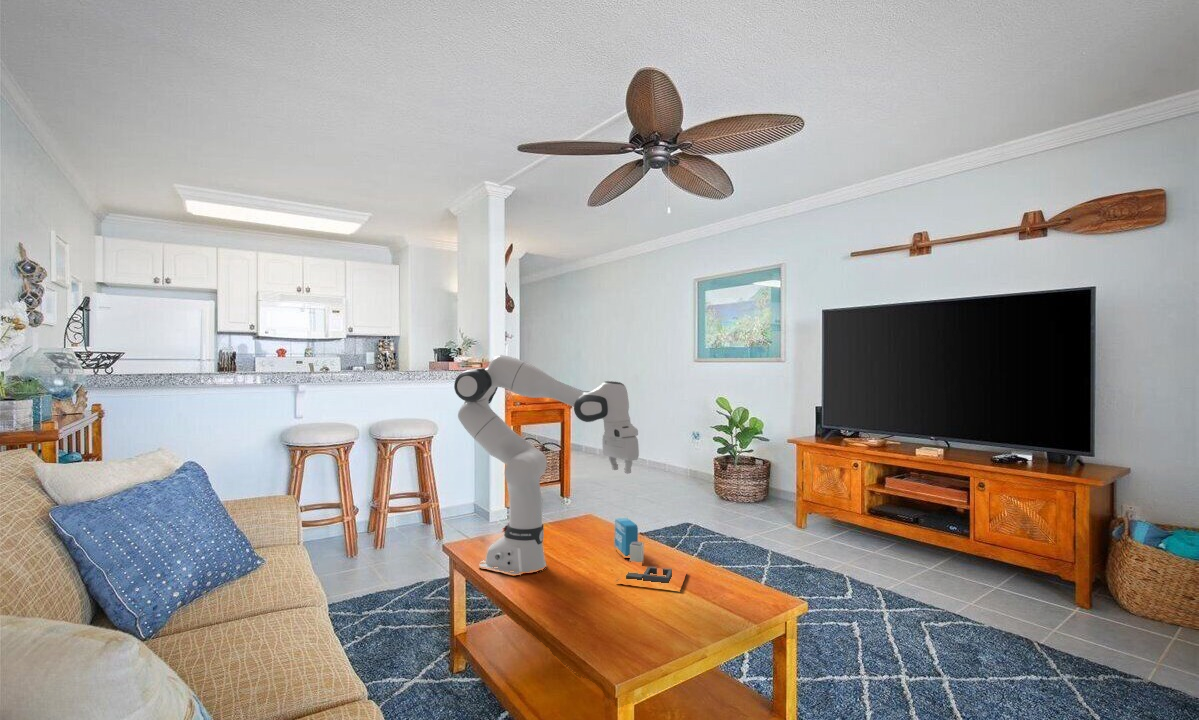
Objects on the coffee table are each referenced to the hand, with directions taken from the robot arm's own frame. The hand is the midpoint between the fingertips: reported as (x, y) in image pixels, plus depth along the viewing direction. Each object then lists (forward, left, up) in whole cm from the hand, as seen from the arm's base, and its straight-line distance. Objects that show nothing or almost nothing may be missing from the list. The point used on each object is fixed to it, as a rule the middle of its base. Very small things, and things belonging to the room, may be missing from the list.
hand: (621, 471), depth 191 cm
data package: (-2, +19, -34) cm, 39 cm away
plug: (+4, +10, -33) cm, 35 cm away
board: (+12, -2, -33) cm, 35 cm away
